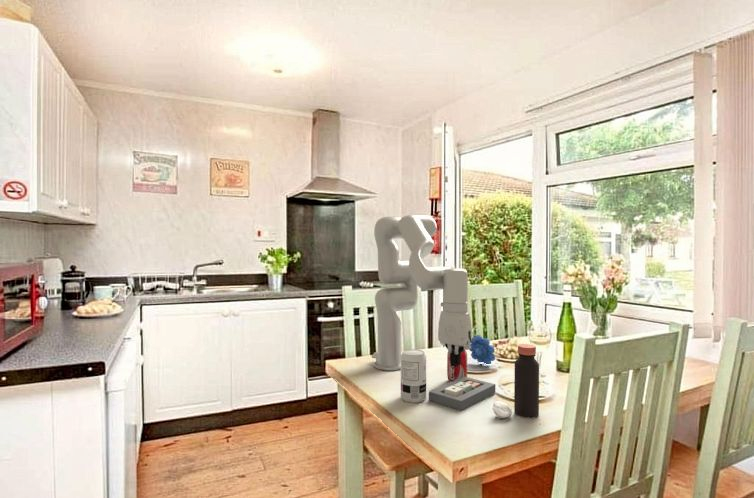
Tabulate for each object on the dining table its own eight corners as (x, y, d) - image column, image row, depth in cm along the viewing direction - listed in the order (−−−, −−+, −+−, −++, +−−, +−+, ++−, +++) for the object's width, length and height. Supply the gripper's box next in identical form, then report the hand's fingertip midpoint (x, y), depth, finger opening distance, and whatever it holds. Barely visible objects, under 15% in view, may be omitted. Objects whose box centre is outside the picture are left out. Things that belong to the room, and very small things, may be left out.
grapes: (463, 364, 178) (463, 335, 178) (471, 361, 183) (471, 332, 183) (490, 370, 171) (490, 339, 170) (497, 366, 176) (497, 336, 176)
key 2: (453, 392, 142) (453, 384, 142) (460, 388, 145) (460, 381, 145) (464, 395, 139) (464, 387, 139) (472, 391, 142) (472, 384, 142)
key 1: (444, 396, 138) (444, 388, 138) (452, 392, 141) (452, 385, 141) (455, 399, 135) (455, 391, 135) (463, 396, 138) (463, 388, 138)
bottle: (543, 416, 126) (544, 347, 125) (523, 419, 124) (523, 349, 124) (529, 408, 132) (529, 342, 132) (509, 410, 131) (510, 344, 130)
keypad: (428, 400, 139) (428, 391, 139) (464, 384, 154) (464, 376, 153) (461, 411, 130) (461, 401, 130) (495, 393, 145) (495, 384, 145)
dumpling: (496, 411, 130) (496, 398, 130) (514, 414, 128) (514, 401, 128) (490, 419, 124) (490, 406, 124) (508, 423, 122) (508, 409, 122)
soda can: (467, 385, 153) (467, 351, 153) (446, 383, 155) (446, 350, 154) (467, 378, 160) (467, 346, 160) (447, 377, 162) (447, 345, 161)
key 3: (462, 390, 146) (462, 383, 146) (469, 387, 149) (469, 380, 149) (473, 393, 143) (473, 386, 143) (480, 390, 146) (480, 383, 146)
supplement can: (396, 396, 143) (396, 350, 142) (418, 392, 146) (418, 348, 145) (407, 405, 135) (407, 356, 135) (431, 401, 138) (431, 353, 138)
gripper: (428, 306, 140) (429, 363, 141) (470, 311, 130) (470, 373, 130) (442, 304, 146) (442, 359, 146) (482, 308, 136) (482, 367, 136)
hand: (455, 365), depth 138 cm, fingers closed
